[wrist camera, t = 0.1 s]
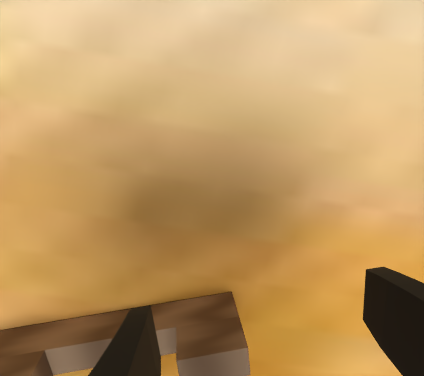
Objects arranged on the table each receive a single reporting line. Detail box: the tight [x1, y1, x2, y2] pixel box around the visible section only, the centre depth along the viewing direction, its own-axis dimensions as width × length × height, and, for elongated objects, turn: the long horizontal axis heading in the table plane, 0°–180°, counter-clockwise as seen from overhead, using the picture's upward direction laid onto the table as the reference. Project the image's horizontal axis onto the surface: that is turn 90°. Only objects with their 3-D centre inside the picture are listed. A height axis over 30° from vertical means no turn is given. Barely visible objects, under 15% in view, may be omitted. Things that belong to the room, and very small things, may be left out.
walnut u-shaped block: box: [0, 292, 250, 376], centre depth 19 cm, size 16×2×5 cm, turn 96°
